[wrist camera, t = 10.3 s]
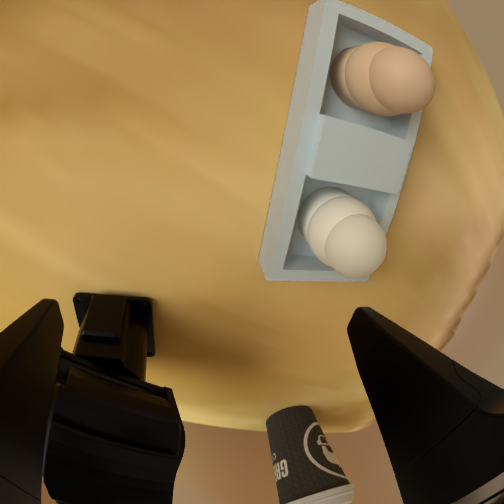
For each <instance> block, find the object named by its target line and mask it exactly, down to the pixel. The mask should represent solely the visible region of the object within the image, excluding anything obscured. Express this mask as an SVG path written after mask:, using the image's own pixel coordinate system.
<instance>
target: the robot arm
mask: <svg viewBox="0 0 504 504" xmlns="http://www.w3.org/2000/svg"><path fill="white" fill-rule="evenodd" d="M78 299H80V300H78ZM73 303H74V307H75V312H76V316H77V320H78V323H79V327H80V330H79V333H78V336H77V339H76V343H75V346H74V350H73V353H69V352H67V351H65V350H63V348H62V347H61V342H62V336H63V329H64V323H63V319H62V315H61V312H60V308H59V304H58V302H57V301H56V300H54V299H43V300H41V301H40V302H38V303H37V304H36V305H35V306H33V307H32V308H31V309H29V310H28V311H27V312H25V313H24V314H23V315H22V316H20V317H19V318H18V319H17V320H15V321H14V322H13V323H12V324H10V325H9V326H8V327H7V328H5V329H4V330H3V331H2V332H1V333H0V504H41V484H42V475H43V477H44V483H45V485H46V488H47V490H48V493H49V495H50V497H51V498H52V499H54V500H55V501H56V503H57V504H172V498H173V487H174V481H175V477H176V473H177V470H178V467H179V465H180V462H181V460H182V457H183V453H184V448H185V431H184V427H183V424H182V420H181V417H180V414H179V411H178V408H177V405H176V401H175V398H174V395H173V391H172V389H171V388H168V387H160V386H157V385H154V384H151V383H147V382H145V379H146V361H147V357H152V356H154V355H155V343H154V327H153V308H152V301H151V299H149V298H146V297H129V296H113V295H99V294H87V293H76V294H75V295H74V297H73ZM144 303H146V304H148V305H144ZM347 333H348V336H349V340H350V343H351V347H352V350H353V354H354V358H355V361H356V365H357V368H358V372H359V374H360V377H361V380H362V382H363V385H364V388H365V390H366V393H367V396H368V398H369V401H370V404H371V407H372V409H373V412H374V415H375V418H376V420H377V423H378V426H379V428H380V432H381V434H382V437H383V440H384V443H385V446H386V449H387V452H388V455H389V458H390V461H391V464H392V467H393V470H394V473H395V477H396V480H397V483H398V487H399V490H400V493H401V497H402V500H403V503H404V504H504V389H502V388H500V387H498V386H496V385H495V384H493V383H491V382H489V381H487V380H486V379H484V378H482V377H480V376H479V375H476V374H475V373H473V372H471V371H470V370H468V369H467V368H465V367H463V366H462V365H460V364H459V363H457V362H456V361H454V360H451V359H450V358H449V357H448V356H446V355H445V354H443V353H441V352H440V351H438V350H437V349H435V348H434V347H432V346H430V345H429V344H427V343H426V342H424V341H423V340H421V339H419V338H418V337H416V336H415V335H413V334H412V333H410V332H408V331H407V330H405V329H404V328H402V327H400V326H399V325H397V324H396V323H394V322H392V321H391V320H389V319H388V318H386V317H384V316H383V315H381V314H380V313H378V312H376V311H375V310H373V309H372V308H370V307H358V308H357V309H356V310H355V311H354V313H353V316H352V318H351V320H350V322H349V324H348V327H347Z"/></svg>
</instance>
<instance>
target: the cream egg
mask: <svg viewBox="0 0 504 504" xmlns="http://www.w3.org/2000/svg"><path fill="white" fill-rule="evenodd" d="M297 224H298V228H299V231H300V233H301V234H302V236H303V237H304V238H305V240H306V241H307V242H308V244H309V246H310V248H311V250H312V252H313V253H314V255H315V256H316V257H317V258H318V259H319V260H320V261H321V262H322V263H324V264H326V265H328V266H330V267H332V268H333V269H334V270H335V271H336V272H338V273H339V274H341V275H343V276H345V277H349V278H362V277H366V276H368V275H370V274H372V273H373V272H375V271H376V270H377V269H378V268H379V267H380V265H381V264H382V262H383V261H384V259H385V256H386V252H387V240H386V236H385V233H384V231H383V229H382V227H381V226H380V225H379V223H378V222H377V220H376V218H375V216H374V214H373V212H372V211H371V210H370V208H369V207H368V206H367V205H365V204H364V203H363V202H361V201H360V200H358V199H356V198H354V197H352V196H351V195H350V194H348V193H347V192H346V191H344V190H343V189H341V188H338V187H334V186H326V187H322V188H319V189H317V190H315V191H313V192H312V193H311V194H309V195H308V196H307V197H306V198H305V200H304V201H303V203H302V204H301V206H300V208H299V211H298V216H297Z"/></svg>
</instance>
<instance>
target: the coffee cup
mask: <svg viewBox="0 0 504 504" xmlns="http://www.w3.org/2000/svg"><path fill="white" fill-rule="evenodd" d="M266 426H267V432H268V437H269V444H270V449H271V455H272V461H273V467H274V472H275V478H276V484H277V490H278V496H279V502H280V504H349V503H351V502H353V493H354V492H355V491H354V490H355V486H354V484H350V483H349V481H348V480H347V478H346V476H345V474H344V472H343V470H342V468H341V466H340V465H339V463H338V461H337V459H336V457H335V455H334V453H333V451H332V449H331V447H330V445H329V443H328V441H327V439H326V437H325V435H324V433H323V431H322V429H321V427H320V426H319V424H318V422H317V420H316V418H315V416H314V414H313V412H312V410H311V408H309V407H307V406H294V407H289V408H286V409H283V410H280V411H278V412H276V413H274V414H273V415H271V416H270V417H269V418H268V419H267V421H266Z"/></svg>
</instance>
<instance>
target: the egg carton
mask: <svg viewBox="0 0 504 504" xmlns="http://www.w3.org/2000/svg"><path fill="white" fill-rule="evenodd" d="M370 42H386V43H390V44H392V45H395V46H399V47H404V48H408V49H410V50H412V51H414V52H416V53H417V54H419V55H420V56H421V57H422V58H423V59H424V60H425V61H426V62H427V63H428V65H429V66H430V67H431V61H432V53H433V48H432V47H431V46H429V45H427V44H426V43H424V42H423V41H421V40H419V39H418V38H416V37H414V36H412V35H411V34H409V33H407V32H405V31H404V30H402V29H400V28H398V27H396V26H394V25H392V24H390V23H388V22H386V21H384V20H382V19H380V18H378V17H376V16H374V15H372V14H370V13H367V12H365V11H363V10H361V9H358V8H356V7H354V6H351V5H349V4H346V3H344V2H341V1H339V0H319V1H317V2H315V3H314V4H312V5H310V6H309V10H308V15H307V20H306V26H305V31H304V36H303V41H302V46H301V52H300V57H299V62H298V67H297V72H296V77H295V82H294V87H293V92H292V98H291V103H290V108H289V113H288V118H287V123H286V128H285V133H284V138H283V143H282V148H281V153H280V157H279V162H278V167H277V172H276V177H275V182H274V187H273V192H272V197H271V202H270V206H269V211H268V216H267V221H266V226H265V231H264V235H263V240H262V245H261V250H260V255H259V259H258V260H259V263H260V265H261V268H262V270H263V273H264V275H265V278H266V280H267V281H315V282H368V280H369V278H370V275H371V274H370V275H368V276H366V277H362V278H349V277H345V276H343V275H341V274H339V273H338V272H336V271H335V270H334V269H333V268H332V267H330V266H328V265H326V264H324V263H322V262H321V261H320V260H319V259H318V258H317V257H316V256H315V255H314V253H313V252H312V250H311V248H310V246H309V244H308V242H307V241H306V240H305V238H304V237H303V236H302V234H301V233H300V231H299V228H298V224H297V216H298V211H299V208H300V206H301V204H302V203H303V201H304V200H305V198H306V197H307V196H308V195H309V194H311V193H312V192H313V191H315V190H317V189H319V188H322V187H326V186H334V187H338V188H341V189H343V190H344V191H346V192H347V193H348V194H350V195H351V196H352V197H354V198H356V199H358V200H360V201H361V202H363V203H364V204H365V205H367V206H368V207H369V208H370V210H371V211H372V212H373V214H374V216H375V218H376V220H377V222H378V223H379V225H380V226H381V227H382V229H383V231H384V233H385V236H386V234H387V232H388V229H389V226H390V223H391V220H392V217H393V214H394V212H395V209H396V206H397V202H398V199H399V196H400V193H401V190H402V187H403V183H404V180H405V177H406V173H407V170H408V166H409V163H410V159H411V156H412V152H413V148H414V144H415V140H416V136H417V132H418V128H419V124H420V119H421V115H422V110H423V109H421V110H420V111H417V112H414V113H408V114H404V113H402V114H399V115H396V116H380V115H376V114H373V113H371V112H368V111H363V110H358V109H354V108H351V107H349V106H347V105H346V104H345V103H343V102H342V101H341V100H340V99H339V98H338V96H337V95H336V93H335V92H334V90H333V87H332V84H331V80H330V68H331V64H332V62H333V60H334V58H335V57H336V55H337V54H338V53H339V52H340V51H342V50H344V49H346V48H349V47H354V46H360V45H363V44H366V43H370Z"/></svg>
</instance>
